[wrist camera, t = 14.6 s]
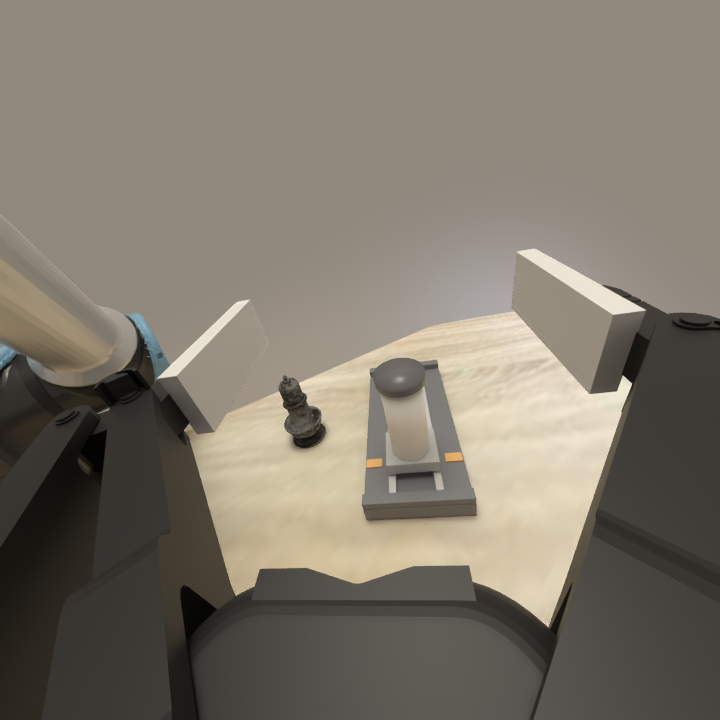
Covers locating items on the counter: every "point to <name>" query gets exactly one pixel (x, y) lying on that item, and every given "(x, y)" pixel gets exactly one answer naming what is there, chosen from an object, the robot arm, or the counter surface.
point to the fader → (406, 417)
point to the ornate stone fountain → (301, 415)
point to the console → (419, 489)
